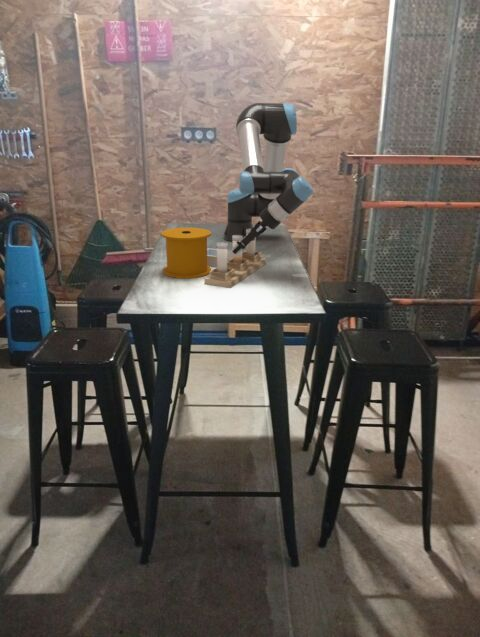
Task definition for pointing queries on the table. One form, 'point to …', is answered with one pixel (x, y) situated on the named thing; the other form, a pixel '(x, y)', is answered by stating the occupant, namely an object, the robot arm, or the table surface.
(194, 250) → the spool
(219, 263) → the fuse
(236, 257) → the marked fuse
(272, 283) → the table surface
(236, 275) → the fuse block
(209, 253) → the tray
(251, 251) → the fuse
